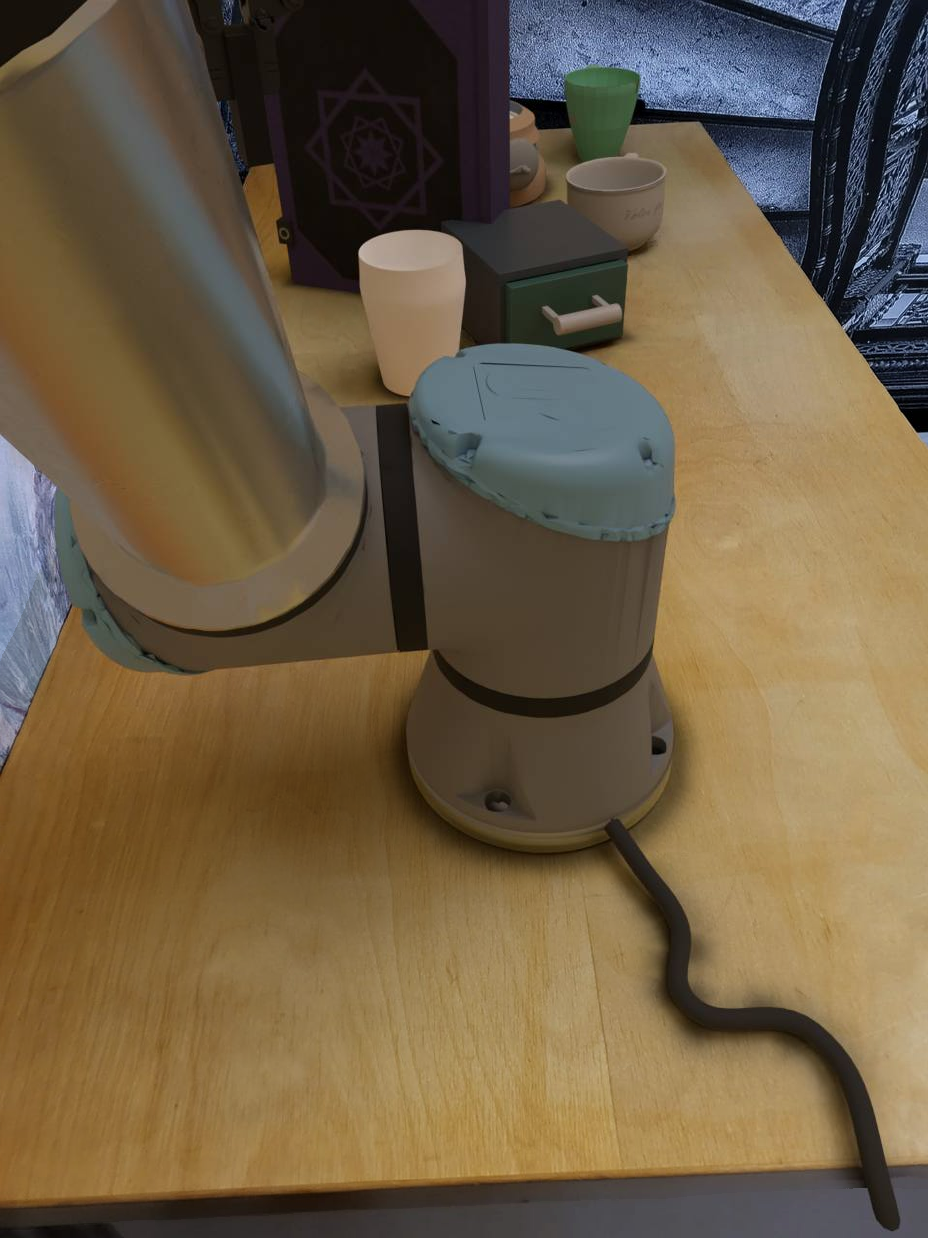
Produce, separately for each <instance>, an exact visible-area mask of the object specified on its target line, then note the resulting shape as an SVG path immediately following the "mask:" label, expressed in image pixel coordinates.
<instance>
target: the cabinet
mask: <svg viewBox="0 0 928 1238" xmlns="http://www.w3.org/2000/svg"><path fill="white" fill-rule="evenodd" d="M441 231H442V233H445V234H448V235H450V236H452V237H454V238H456V239H457V240H459V242H460V243H461V244H462V250H463V261H464V271H465V279H466V286H465V296H464V306H463V315H462V324H461V328H463V329H464V330H465V331H466V332H467V334H469V335H470V337H472V339H473V340H474V341H475V342H476V343H477V344H478V346H480V345H487V344H506V292H505V284H507V283H508V282H510V281H515V280H520V279H524V278H529V277H534V276H539V275H544V274H549V273H553V272H558V271H563V270H568V269H573V268H578V267H582V266H587V265H592V264H597V263H602V262H606V263H608V262H613V261H617V260H623V261H625V262H626V263H627V264H628V257H629V251H628V247H627V246H625V245H624V244H622V243H621V242H620V241H618V240H617V239H615V238H614V237H612V236H611V235H610V234H608V233H607V232H605V231H604V230H603V229H601V228H600V227H598V226H597V225H595V224H594V223H593V222H591V221H590V220H588V219H587V218H585V217H584V216H583V215H581V214H580V213H578V212H577V211H576V210H574V209H573V208H571V207H570V206H568V204H567V203H566V202H564V201H563V200H561V199H555V200H550V201H544V202H539V203H533V204H528V205H522V206H517V207H513V208H510V209H506V210H504V211H503V212H502V213H501V214H500V215H499V216H498V218H497V219H496V220H495V221H494V222H493V223H492V224H486V223H481V222H468V221H459V220H447V221H442V222H441ZM622 337H623V335H622V336H617V337H613V338H609V339H604V340H600V341H596V342H591V343H587V344H583V345H578V346H574V347H570V348H565V349H563V350H568V351H572V350H576V349H580V348H586V347H590V346H594V345H599V344H604V343H607V342H611V341H616V340H620V339H622Z"/></svg>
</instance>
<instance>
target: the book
mask: <svg viewBox="0 0 928 1238" xmlns="http://www.w3.org/2000/svg"><path fill="white" fill-rule="evenodd" d="M510 1H511V0H304V4H303V6H302V7H301V9H299V10H298V11H291V12H289V13H288V14H286V15H284V16H282V17H281V18H280V19H278V20H277V22H276V26H275V28H274V30H273V32H274V41H275V48H276V55H277V63H278V69H279V70H278V71H279V76H280V87H279V92H278V93H275V94H268V95H264V100H265V107H266V113H267V120H268V126H269V133H270V140H271V146H272V153H273V159H274V164H273V165H274V172H275V177H276V178H275V179H276V184H277V185H276V186H277V191H278V197H279V205H280V211H281V216H280V217H279V218H278V219H276V220H275V225H276V231H277V235H278V236H277V237H278V243H279V244H281V245H286V250H287V257H288V263H289V269H290V276H291V282H292V284H293V285H295V286H296V285H297V286H302V287H303V286H304V287H309V288H317V289H325V290H332V291H340V292H346V293H353V294H360V295H361V291H360V270H359V249H360V247H361V246H362V245H363V244H364V243H366V242H367V241H369V240H370V239H372V238H375V237H377V236H380V235H383V234H387V233H391V232H397V231H405V230H428V231H436V232H441V233H442V231H441V222H442V221H447V220H459V221H468V222H481V223H486V224H492V223H493V222H494V221H495V220H496V219H497V218H498V216H499V215H500V214H501V213H502V212H503V211H504V210H506V209H511V208H510V100H511V64H510V63H511V51H510V50H511V42H510V41H511V40H510V38H511V37H510V36H511V35H510V31H511V30H510V27H511V24H510V22H511V21H510V20H511V19H510V17H511V15H510V12H511V11H510V6H511V5H510V3H511V2H510Z"/></svg>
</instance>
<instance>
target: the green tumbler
mask: <svg viewBox="0 0 928 1238" xmlns="http://www.w3.org/2000/svg"><path fill="white" fill-rule="evenodd" d="M563 78H564V79H563V88H564V94H565V101H566V102H565V104H566V110H567V111H566V112H567V115H568V116H567V117H568V120H569V125H570V130H571V133H572V137H573V140H574V145H575V148H576V151H577V154H578V157H579V160H580V161H581V162H582V163H584V162H587V161H591V160H595V159H600V158H608V157H619V153H620V151H621V149H622V147H623V144H624V141H625V139H626V136H627V133H628V130H629V128H630V125H631V122H632V118H633V115H634V112H635V108H636V104H637V100H638V95H639V92H640V87H641V74H640V73H638V72H637V71H634V70H632V69H629V68H623V67H614V66H613V67H612V66H600V65H598V64H589V65H586V66H585V67H584V68H579V69H574V70H572V71H570V72H567V73H566V74H565V75H564V77H563Z"/></svg>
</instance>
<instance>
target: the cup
mask: <svg viewBox="0 0 928 1238" xmlns="http://www.w3.org/2000/svg"><path fill="white" fill-rule="evenodd" d="M359 270H360V291H361V294H360V295H361V300H362V303H363V307H364V311H365V315H366V316H365V317H366V320H367V324H368V327H369V332H370V336H371V339H372V343H373V348H374V351H375V355H376V359H377V363H378V367H379V371H380V375H381V379H382V383H383V385H384V387H385V388H386V389H388V390H389V391H390V392H392V393H394V394H397V395H399V396H404V397H410V394H411V393H412V391H413V390H414V388H415V384H416V381H417V380H418V378H419V376H420V374H421V373H422V372H423V371H424V370H425V369H426V368H427V367H428V366H429V365H431V364H432V363H433V362H434V361H436V360H437V359H439V358H441V357H443V356H449V357H455V355H456V353H457V352H458V351H459V350H460V343H461V342H460V340H461V334H462V333H461V332H462V326H461V324H462V315H463V306H464V296H465V286H466V279H465V271H464V261H463V250H462V244H461V243H460V242H459V240H457V239H456V238H454V237H452V236H450V235H448V234H445V233H441V232H436V231H428V230H405V231H397V232H391V233H387V234H383V235H380V236H377V237H375V238H372V239H370V240H369V241H367V242H366V243H364V244H363V245H362V246H361V247H360V249H359Z"/></svg>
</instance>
